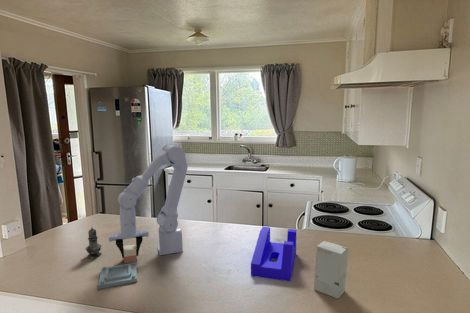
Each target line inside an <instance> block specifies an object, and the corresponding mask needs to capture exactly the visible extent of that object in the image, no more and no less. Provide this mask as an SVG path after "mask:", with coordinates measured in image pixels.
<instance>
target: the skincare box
mask: <svg viewBox="0 0 470 313" xmlns="http://www.w3.org/2000/svg"><path fill="white" fill-rule="evenodd" d="M315 253H316V257H315V266H314V267H315V269H314V270H315V271H314V283H313V289H314V291H316V292H317V291H318V292H319V293H322V294H325V295H328V296H330V297H333V298H334V299H339V298H340V297H341V296H342V295H343V294H344V293H345V290H346V280H347V279H346V278H347V267H348V258H349V257H348V256H349V248H348V247H345V246H342V245H340V244H337V243H332V242H329V241H325V240H323V241H322V242H320V243H319V244H317V245H316V252H315Z"/></svg>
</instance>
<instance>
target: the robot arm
mask: <svg viewBox="0 0 470 313" xmlns="http://www.w3.org/2000/svg"><path fill="white" fill-rule="evenodd" d="M169 164H170V165H171V167H172V169H173V171H172V175H171V180H170V183H169V187H168V191H167V193H166V198H165V201H164V205H163V206H162V207H161V209H160V212H159V213H158V215H157V216H156V223H157V225H159V228H158V246H157V249H158V254H159V256H164V255H171V254H177V253H183V252H184V249H183V248H184V247H183V246H184V245H183V233H182V229H181V227H178V226H179V225H178V224H179V222H178V217H179V213H178V206H179V202H180V198H181V195H182V191H183V187H184V183H185V179H186V175H187V171H188V163H187V159H186V152H185V151H184V150H183V149H182V148H181V147H180V146H178V145H174V144H165V145H164V146H163V147H162V149H160V150H159V151H158V152H157V154H156V155H155V157H154V158H153V159H152V161H151V162H150V164H149V165H148V166H147V168H145V170H144V171H143V172H142V174H141V175H136V177H132V179H131V183H130V184H129V185H128V186H127V187H126V188H124V189H123V191H122V192H120V193H119V194H118V196H117V203H118V204H119V222H120V223H119V224H120V232H119V233H118V232H117V233H114V234H109V235H108V242H109V243H111V242H112V243H113V241H114V242H115V245H116V246H117V247H116V248H118V250H119V252H120V254H121V256H122V259H124V240H128V239H129V240H130V239H135V244H136V256H137V257H139V252H140V247H141V245H142V243H143V239H144V237H146V238H148V237H150V235H149V234H150V233H149V230H147V229H146V230H137V219H136V207H135V206H136V205H137V203H138V202H137V200H138V199H139V198H140V196H141V195H142V194H143V192H144V191H145V190H146V189H147V187H148V186H149V180H150V179H151V178H152V177H153V176H154V175H155V174H156V173H157V172H158V171H159V169H160V168H161V167H162V166H165V165H169Z"/></svg>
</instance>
